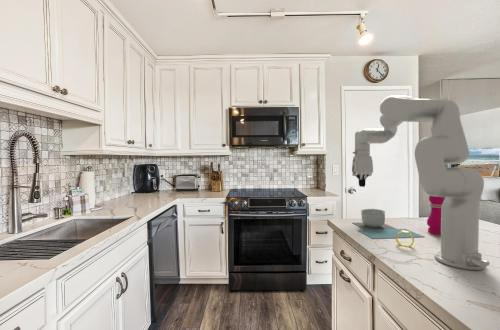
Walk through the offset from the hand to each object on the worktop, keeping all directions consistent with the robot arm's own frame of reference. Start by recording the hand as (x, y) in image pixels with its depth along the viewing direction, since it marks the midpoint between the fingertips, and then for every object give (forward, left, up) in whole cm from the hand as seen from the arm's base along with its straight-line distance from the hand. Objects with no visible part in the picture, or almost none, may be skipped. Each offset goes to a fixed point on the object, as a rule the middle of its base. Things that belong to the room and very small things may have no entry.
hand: (361, 186), depth 136 cm
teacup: (-11, 0, -19) cm, 22 cm away
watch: (-39, +4, -19) cm, 44 cm away
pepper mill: (-25, -22, -19) cm, 39 cm away
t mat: (-18, 0, -19) cm, 26 cm away
